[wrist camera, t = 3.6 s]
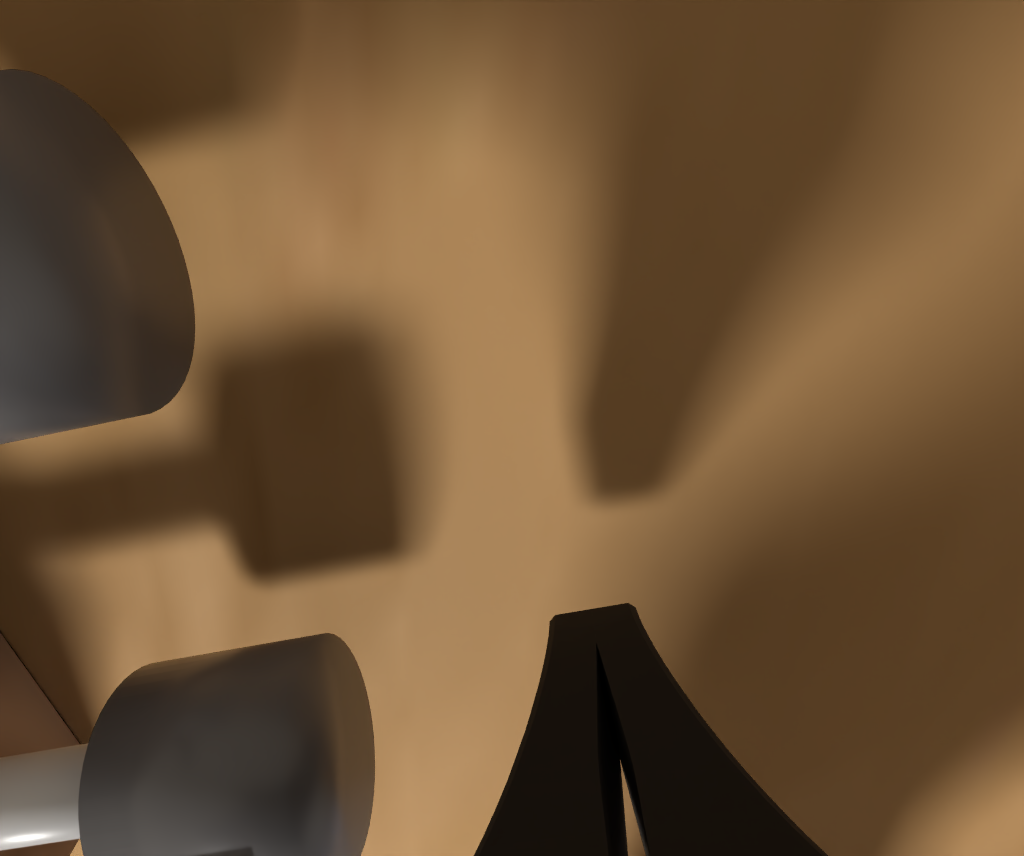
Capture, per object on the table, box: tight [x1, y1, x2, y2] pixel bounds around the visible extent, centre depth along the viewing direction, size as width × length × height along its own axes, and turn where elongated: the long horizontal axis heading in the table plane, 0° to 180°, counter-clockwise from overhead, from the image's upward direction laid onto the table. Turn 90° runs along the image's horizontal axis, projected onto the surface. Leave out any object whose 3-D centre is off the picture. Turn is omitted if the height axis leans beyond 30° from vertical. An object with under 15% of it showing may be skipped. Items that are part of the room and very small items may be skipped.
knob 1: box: [0, 633, 375, 856], centre depth 11 cm, size 4×9×4 cm, turn 102°
